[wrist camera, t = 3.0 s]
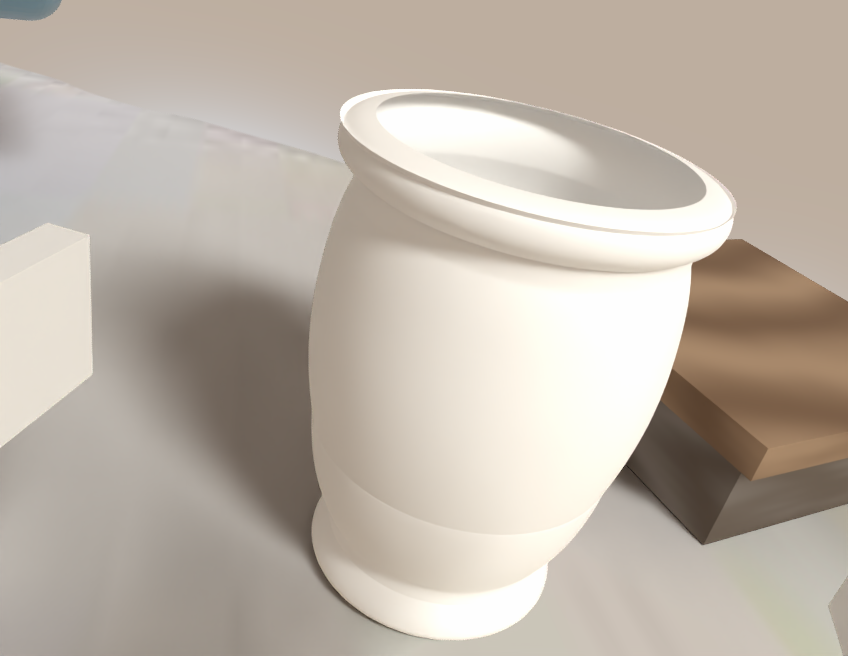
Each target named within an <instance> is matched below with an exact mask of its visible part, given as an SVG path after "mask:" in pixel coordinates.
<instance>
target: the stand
mask: <svg viewBox="0 0 848 656" xmlns="http://www.w3.org/2000/svg"><path fill="white" fill-rule="evenodd" d="M626 465H627V466H628V467H629V468H630V469H631V470H632V471H633V472H634V473H635V474H636V475H637V476H638V478H639V479H640V480H641V481H642V482H643V483H644V484H645V485H646V486H647V487H648V488H649V489H650V490H651V491H652V492H653V493H654V494H655V495H656V496H657V497H658V498H659V499H660V500H661V502H662V503H663V504H664V505H665V506H666V507H667V508H668V509H669V510H670V511H671V512H672V513H673V514H674V515H675V516H676V517H677V518H678V519H679V520H680V521H681V522H682V523H683V524H684V526H685V527H686V528H687V529H688V530H689V531H690V532H691V533H692V534H693V535H694V536H695V537H696V538H697V539H698V540H699V541H700V542H701V543H702V544H703V545H705V544H709V543H712V542H716V541H719V540H723V539H726V538H730V537H733V536H737V535H740V534H744V533H747V532H751V531H754V530H757V529H761V528H764V527H768V526H771V525H775V524H778V523H782V522H785V521H789V520H792V519H796V518H799V517H803V516H806V515H810V514H813V513H817V512H820V511H824V510H827V509H831V508H834V507H838V506H841V505H845V504H848V302H847V301H846V300H844V299H843V298H841V297H839V296H837V295H836V294H834V293H832V292H831V291H829V290H827V289H826V288H824V287H822V286H820V285H819V284H817V283H815V282H814V281H812V280H810V279H809V278H807V277H805V276H804V275H802V274H800V273H798V272H797V271H795V270H793V269H791V268H790V267H788V266H787V265H785V264H783V263H781V262H780V261H778V260H776V259H775V258H773V257H771V256H770V255H768V254H766V253H764V252H763V251H761V250H759V249H758V248H756V247H754V246H753V245H751V244H749V243H747V242H745V241H744V240H742V239H734V240H726V241H725V242H724V243H723V244H722V245H721V247H720V248H719V249H717V250H716V251H715V252H714V253H712V254H710V255H709V256H707V257H705V258H703V259H701V260H698V261H696V262H693V263H692V266H691V285H690V295H689V302H688V308H687V313H686V318H685V323H684V327H683V331H682V335H681V339H680V343H679V346H678V350H677V353H676V357H675V360H674V363H673V366H672V369H671V372H670V375H669V378H668V381H667V384H666V386H665V389H664V391H663V394H662V396H661V399H660V401H659V404H658V406H657V408H656V410H655V412H654V415H653V417H652V419H651V421H650V423H649V425H648V427H647V429H646V430H645V432H644V434H643V436H642V438H641V440H640V441H639V443H638V445H637V446H636V448H635V450H634V451H633V453H632V455H631V456H630V458H629V459H628V461H627V462H626Z"/></svg>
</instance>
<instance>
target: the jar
mask: <svg viewBox="0 0 848 656" xmlns="http://www.w3.org/2000/svg"><path fill="white" fill-rule="evenodd" d="M340 118H341V123H340V126H339V131H338V145H339V149H340V152H341V155H342V157H343V159H344V161H345V163H346V165H347V166H348V168H349V169H350V170H351V172H352V173H353V178H352V180H351V182H350V183H349V185H348V187H347V189H346V191H345V193H344V195H343V197H342V200H341V202H340V204H339V207H338V209H337V212H336V214H335V217H334V220H333V223H332V226H331V229H330V232H329V235H328V238H327V242H326V245H325V248H324V252H323V256H322V260H321V264H320V268H319V272H318V277H317V281H316V286H315V292H314V298H313V304H312V311H311V320H310V332H309V386H310V398H311V407H312V417H311V433H312V449H313V458H314V465H315V470H316V475H317V479H318V483H319V486H320V490H321V493H322V496H321V498H320V499H319V501H318V504H317V506H316V508H315V511H314V515H313V520H312V543H313V548H314V552H315V555H316V558H317V561H318V563H319V565H320V567H321V569H322V571H323V573H324V574H325V576H326V577H327V579H328V580H329V582H330V583H331V584H332V586H333V587H334V588H335V589H336V590H337V591H338V593H339V594H340V595H341V596H342V597H343V598H344V599H345V600H346V601H348V602H349V603H350V604H351V605H353V606H354V607H355V608H356V609H358V610H359V611H360V612H362V613H363V614H365V615H366V616H368V617H370V618H372V619H373V620H375V621H377V622H379V623H381V624H383V625H385V626H387V627H389V628H392V629H395V630H397V631H400V632H403V633H406V634H409V635H413V636H418V637H423V638H428V639H435V640H469V639H475V638H480V637H485V636H489V635H492V634H494V633H497V632H500V631H502V630H504V629H506V628H508V627H510V626H512V625H513V624H515V623H516V622H518V621H519V620H520V619H522V618H523V617H524V616H525V615H526V614H527V613H528V612H529V611H530V610H531V609H532V608H533V606H534V605H535V604H536V602H537V601H538V599H539V597H540V595H541V593H542V591H543V588H544V585H545V582H546V577H547V566H548V562H549V561H550V560H552V559H553V558H554V557H555V556H556V555H557V554H558V553H560V552H561V551H562V550H563V549H564V548H565V547H566V546H567V545H568V543H569V542H570V541H571V540H572V539H573V538H574V537H575V535H576V534H577V533H578V532H579V530H580V529H581V528H582V526H583V525H584V524H585V522H586V521H587V519H588V518H589V516H590V515H591V513H592V512H593V510H594V509H595V507H596V505H597V504H598V502H599V500H600V498H601V497H602V495H603V493H604V492H605V491H606V490H607V488H608V487H609V486H610V485H611V483H612V482H613V481H614V479H615V478H616V477H617V475H618V474H619V472H620V471H621V470H622V468H623V467H624V465H625V464H626V462H627V461H628V459H629V458H630V456H631V455H632V453H633V451H634V450H635V448H636V446H637V445H638V443H639V441H640V440H641V438H642V436H643V434H644V432H645V430H646V429H647V427H648V425H649V423H650V421H651V419H652V417H653V415H654V412H655V410H656V408H657V406H658V404H659V401H660V399H661V396H662V394H663V391H664V389H665V386H666V384H667V381H668V378H669V375H670V372H671V369H672V366H673V363H674V360H675V357H676V353H677V350H678V346H679V343H680V339H681V335H682V331H683V327H684V323H685V318H686V313H687V308H688V302H689V295H690V285H691V266H692V263H693V262H696V261H698V260H701V259H703V258H705V257H707V256H709V255H710V254H712V253H714V252H715V251H716V250H717V249H719V248H720V247H721V245H722V244H723V243H724V242H725V241H726V239H727V237H728V236H729V234H730V232H731V229H732V226H733V218H734V215H735V214H736V210H737V205H736V201H735V199H734V197H733V196H732V194H731V193H730V191H729V190H728V189H727V188H726V187H725V186H724V185H723V184H722V183H721V182H720V181H718V180H717V179H716V178H715V177H713V176H712V175H710V174H709V173H707V172H706V171H704V170H703V169H701V168H700V167H698V166H697V165H695V164H693V163H691V162H690V161H688V160H686V159H684V158H682V157H680V156H678V155H676V154H674V153H672V152H670V151H668V150H666V149H664V148H662V147H659V146H657V145H655V144H652V143H650V142H647V141H645V140H643V139H640V138H638V137H635V136H633V135H630V134H628V133H625V132H622V131H619V130H617V129H614V128H611V127H608V126H605V125H602V124H599V123H596V122H593V121H589V120H586V119H583V118H579V117H576V116H573V115H569V114H565V113H562V112H558V111H554V110H550V109H546V108H542V107H537V106H533V105H529V104H524V103H519V102H515V101H510V100H505V99H499V98H494V97H488V96H482V95H475V94H468V93H459V92H450V91H440V90H422V89H397V90H396V89H395V90H382V91H375V92H370V93H365V94H361V95H358V96H356V97H353V98H351V99H350V100H348V101H347V102H346V103H345V104H344V105H343V106H342V108H341V110H340Z"/></svg>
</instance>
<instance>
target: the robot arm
mask: <svg viewBox="0 0 848 656" xmlns="http://www.w3.org/2000/svg"><path fill="white" fill-rule="evenodd" d="M60 3H61V0H0V18H7V19H18V20H31V21H33V20H40V19H43V18H46V17H48V16H50V15H51V14H53V12H55V10H57V8H58V7H59V5H60ZM92 374H93V360H92V316H91V272H90V235H88V234H85V233H81V232H78V231H74V230H71V229H68V228H64V227H61V226H57V225H54V224H50V223H46V224H44V225H42V226H40V227H38V228H36V229H34V230H31V231H29V232H27V233H25V234H23V235H21V236H19V237H17V238H14V239H12V240H10V241H8V242H6V243H4V244H2V245H0V448H1V447H2V446H3V445H4V444H6V443H7V442H8V441H9V440H11V439H12V438H13V437H14V436H16V435H17V434H18V433H19V432H21V431H22V430H23V429H24V428H26V427H27V426H28V425H30V424H31V423H32V422H33V421H35V420H36V419H37V418H38V417H40V416H41V415H42V414H43V413H45V412H46V411H47V410H48V409H50V408H51V407H52V406H53V405H55V404H56V403H57V402H58V401H60V400H61V399H62V398H63V397H65V396H66V395H67V394H69V393H70V392H71V391H72V390H74V389H75V388H76V387H77V386H79V385H80V384H81V383H82V382H84V381H85V380H86V379H87V378H89V377H90V376H91V375H92ZM828 607H829V610H830V613H831V617H832V620H833V623H834V626H835V630H836V633H837V636H838V639H839V643H840V646H841V649H842V653H843V656H848V576H847V578H846V579H845V581H844V582H843V584H842V585H841V587H840V588H839V590H838V591H837V593H836V595H835V596H834V598H833V599H832V601H831V602H830V604H829V605H828Z"/></svg>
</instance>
